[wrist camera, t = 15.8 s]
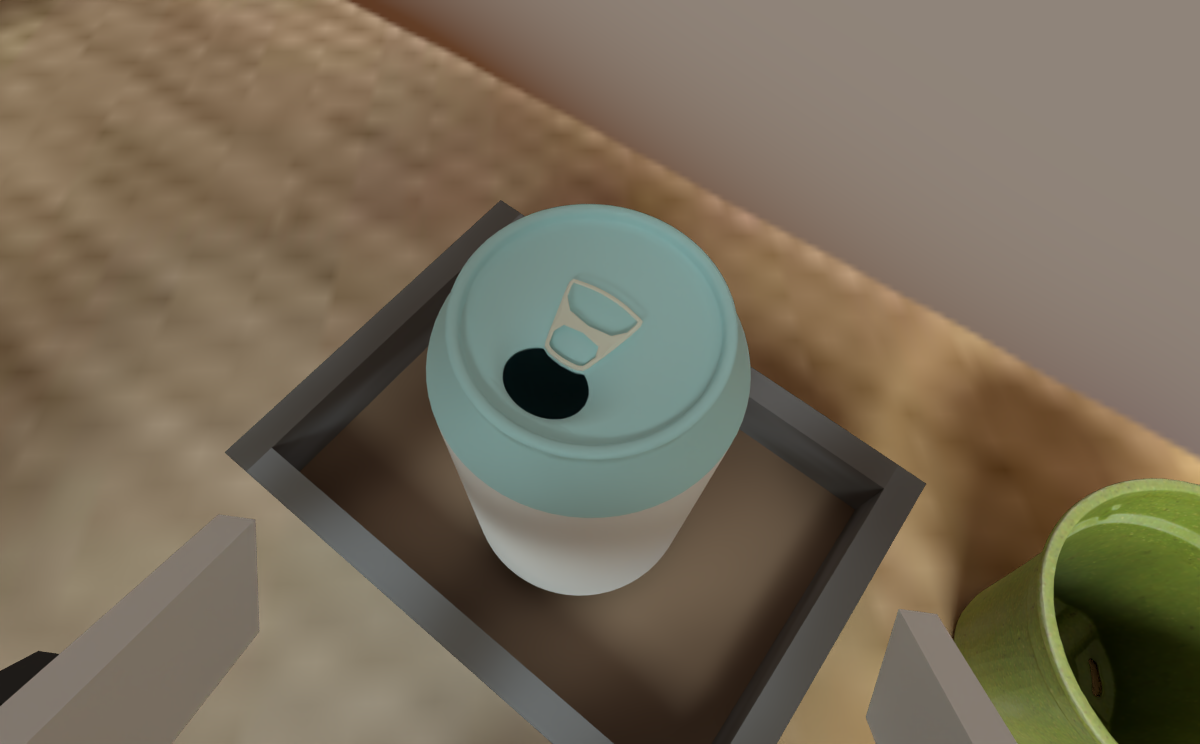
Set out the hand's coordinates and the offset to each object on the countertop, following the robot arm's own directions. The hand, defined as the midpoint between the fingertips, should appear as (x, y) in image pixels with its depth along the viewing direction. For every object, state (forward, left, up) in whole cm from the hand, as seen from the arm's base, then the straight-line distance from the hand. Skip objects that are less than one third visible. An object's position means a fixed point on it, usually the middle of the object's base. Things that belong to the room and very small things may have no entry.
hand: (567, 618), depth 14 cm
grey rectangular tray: (-3, +4, -13) cm, 14 cm away
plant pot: (+14, +11, -13) cm, 22 cm away
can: (-3, +4, -9) cm, 10 cm away
